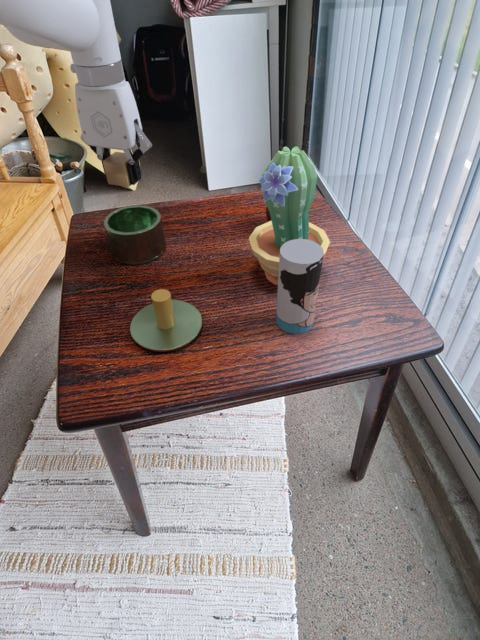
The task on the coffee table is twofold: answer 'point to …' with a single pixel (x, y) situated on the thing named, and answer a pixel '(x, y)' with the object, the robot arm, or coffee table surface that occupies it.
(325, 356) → the coffee table surface
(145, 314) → the lid
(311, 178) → the potted cactus
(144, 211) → the bowl
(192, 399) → the coffee table surface
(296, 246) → the white printed cylinder
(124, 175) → the block
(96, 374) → the coffee table surface
